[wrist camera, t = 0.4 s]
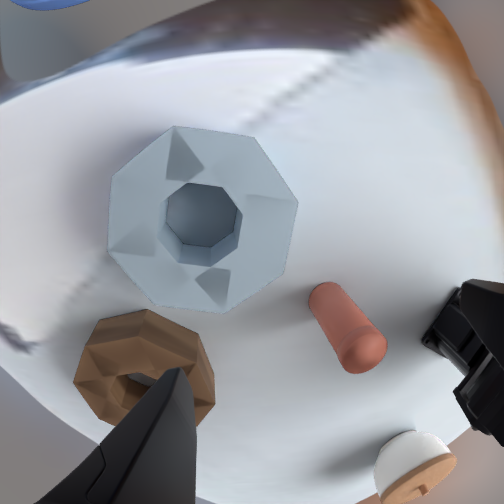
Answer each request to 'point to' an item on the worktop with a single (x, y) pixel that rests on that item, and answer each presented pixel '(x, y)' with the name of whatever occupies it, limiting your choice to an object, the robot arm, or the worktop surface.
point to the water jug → (47, 4)
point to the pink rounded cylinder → (347, 328)
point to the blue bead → (197, 257)
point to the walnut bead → (140, 363)
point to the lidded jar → (411, 466)
